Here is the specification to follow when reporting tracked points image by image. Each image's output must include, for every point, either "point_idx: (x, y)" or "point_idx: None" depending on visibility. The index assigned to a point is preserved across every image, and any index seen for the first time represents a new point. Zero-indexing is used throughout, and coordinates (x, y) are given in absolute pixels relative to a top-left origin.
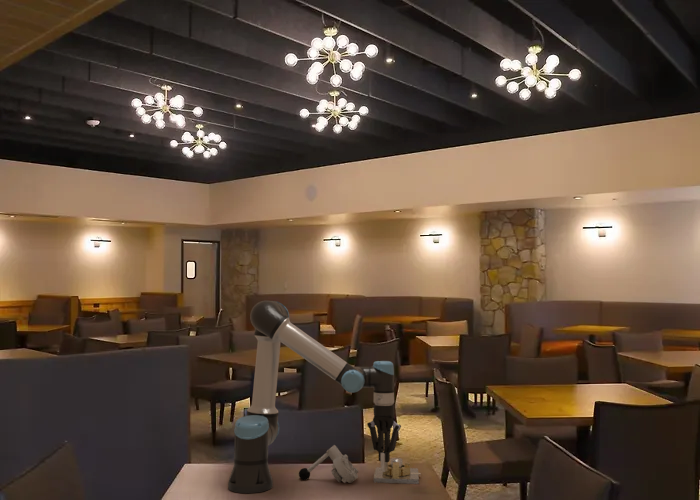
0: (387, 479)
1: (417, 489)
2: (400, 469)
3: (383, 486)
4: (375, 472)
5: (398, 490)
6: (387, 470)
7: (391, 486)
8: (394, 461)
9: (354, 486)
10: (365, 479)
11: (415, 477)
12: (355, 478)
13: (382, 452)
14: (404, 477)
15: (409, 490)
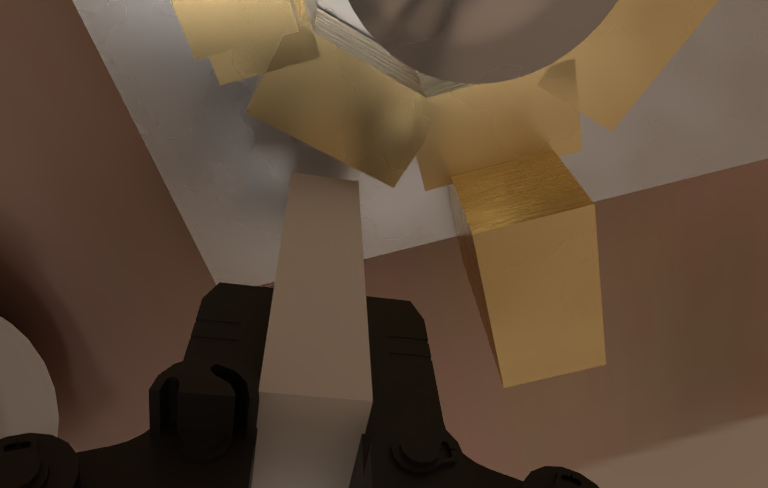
0: (388, 247)
1: (725, 318)
2: (573, 149)
3: None
4: (84, 3)
5: (548, 396)
6: (357, 189)
7: (460, 319)
8: (464, 75)
9: (123, 430)
10: (66, 180)
11: (757, 70)
12: (52, 400)
13: (269, 480)
14: (598, 126)
15: (648, 366)
